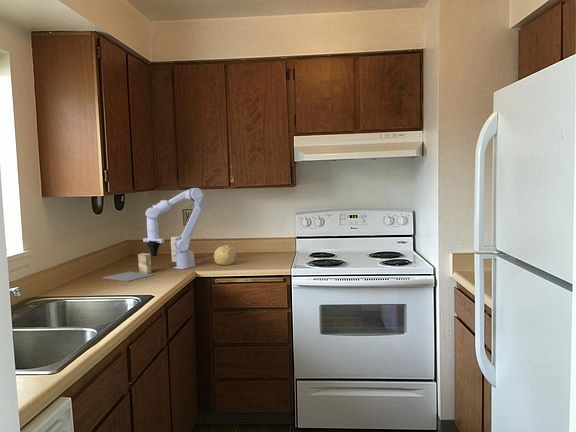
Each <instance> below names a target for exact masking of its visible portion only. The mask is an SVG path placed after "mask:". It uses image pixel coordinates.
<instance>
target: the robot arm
mask: <svg viewBox="0 0 576 432" xmlns="http://www.w3.org/2000/svg"><path fill="white" fill-rule="evenodd" d="M183 200H191V201H192V204H193V205H194V207H193V210H192V212H191V214H190V216H189V218H188V220H187V222H186V224H185V227H184V229H183V231H182V233H181V234H180V235H179V236H180V237H179V236H178V237H179V238H177V239H175V240H176V242H175V246H176V248H177V250H176V262H175V263H176V264H175V265H176V266H173V267H172V268H173V269H176V270H177V269H178V270H179V269H180V270H187V269H189V268H194V267H196V266H197V265H195V263H196V262H195V254H194V252H193V251H192V250H191V249H189V248H190V242H191V240H192V239H191V238H192V235H193V233H194V231H195V229H196V226H197V225H198V223H199V221H200V219H201V216H202V214H203V212H204V210H205V207H206V204H205V194H204V192H203V189H201V188H199V187H192V188H189V189H187V190H184V191H182V192H180V193H179V194H177V195H176V196H173V197H172V198H171V199H169V200H166V199H164V200H163V199H161V200H159V202H158V203H156V204H152V206H151V207H149V208H147V209H146V210H145V216H146V232H147V237H145V238H144V237H143V238H142V241H143V243H146V246H147V247H148V248H149V251H150V255H151V256H152V257H157V256H158V251H159V247H160V246H161V244H163V243H165V239H164V238H160V234H159V232H160V231H159V221H158V216H159V215H160V216H161V215H163V214H164V213H166V212H167V211H170V210H171V208H172V206H173V205H175V204H178V203H180V202H181V201H183Z"/></svg>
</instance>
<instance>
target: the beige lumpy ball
mask: <svg viewBox="0 0 576 432" xmlns="http://www.w3.org/2000/svg"><path fill="white" fill-rule="evenodd" d="M236 256H237V248H235V247H233V246H231V245H227V244H223V245H221V246H219V247H217V248H216V249H215V250H214V254H213V260H214V262H215V263H216V265H222V266H229V265H233V263H235V262H236V261H235V260H236Z"/></svg>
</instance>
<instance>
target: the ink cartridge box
mask: <svg viewBox="0 0 576 432" xmlns="http://www.w3.org/2000/svg"><path fill="white" fill-rule="evenodd" d="M179 237H180V235H179V236H170V251H171V262H172V263H174V262H175V263H176V250H177V248H176V246H175V242H176V240H177V239H179Z"/></svg>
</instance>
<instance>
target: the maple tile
mask: <svg viewBox="0 0 576 432" xmlns="http://www.w3.org/2000/svg"><path fill="white" fill-rule="evenodd" d="M137 258H138V273H145V274H152V262H151V253H143V252H142V253H138V254H137Z"/></svg>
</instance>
